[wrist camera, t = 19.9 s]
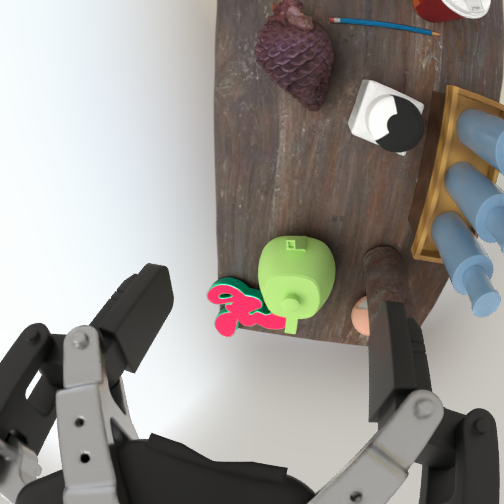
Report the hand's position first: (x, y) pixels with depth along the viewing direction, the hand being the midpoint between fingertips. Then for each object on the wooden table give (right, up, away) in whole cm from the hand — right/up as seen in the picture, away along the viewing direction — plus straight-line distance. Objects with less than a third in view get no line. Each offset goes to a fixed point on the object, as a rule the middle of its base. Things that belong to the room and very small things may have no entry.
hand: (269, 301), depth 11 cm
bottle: (+28, +17, +17) cm, 37 cm away
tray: (+29, +16, +28) cm, 44 cm away
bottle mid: (+28, +11, +21) cm, 37 cm away
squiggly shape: (0, -10, +53) cm, 54 cm away
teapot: (+8, +1, +45) cm, 45 cm away
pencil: (+19, +34, +19) cm, 43 cm away
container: (+18, +22, +27) cm, 40 cm away
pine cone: (+6, +30, +26) cm, 40 cm away
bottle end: (+27, +5, +26) cm, 38 cm away
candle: (+23, 0, +41) cm, 47 cm away
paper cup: (+25, +37, +15) cm, 47 cm away
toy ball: (+23, -8, +47) cm, 53 cm away
